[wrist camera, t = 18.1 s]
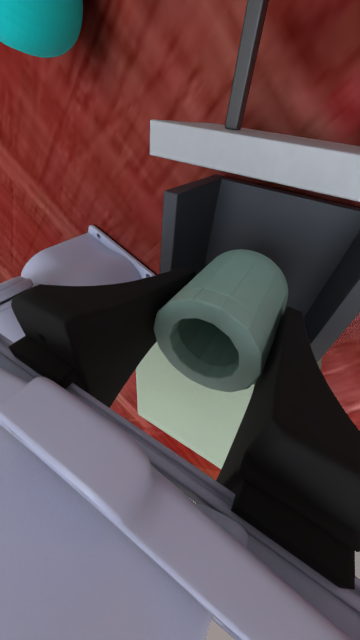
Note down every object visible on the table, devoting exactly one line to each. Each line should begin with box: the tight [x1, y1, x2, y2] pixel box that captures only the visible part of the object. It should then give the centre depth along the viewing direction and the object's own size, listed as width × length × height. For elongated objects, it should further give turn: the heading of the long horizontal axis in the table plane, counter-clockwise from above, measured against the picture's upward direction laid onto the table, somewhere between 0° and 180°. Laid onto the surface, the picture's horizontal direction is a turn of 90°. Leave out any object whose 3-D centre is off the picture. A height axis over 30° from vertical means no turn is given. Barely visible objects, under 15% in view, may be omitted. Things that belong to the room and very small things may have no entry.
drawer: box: [150, 0, 360, 362], centre depth 13 cm, size 19×11×7 cm, turn 173°
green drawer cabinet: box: [136, 342, 322, 469], centre depth 22 cm, size 15×13×9 cm
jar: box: [154, 249, 288, 393], centre depth 11 cm, size 4×5×5 cm
